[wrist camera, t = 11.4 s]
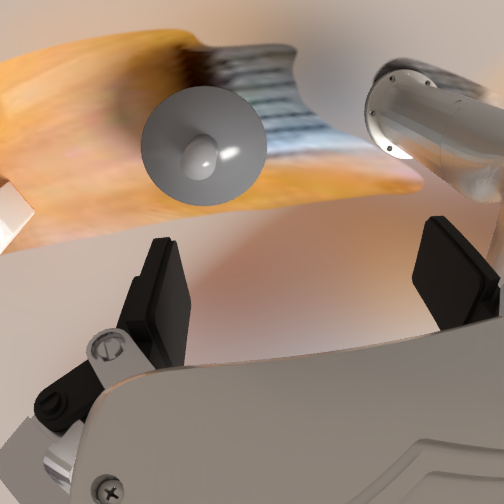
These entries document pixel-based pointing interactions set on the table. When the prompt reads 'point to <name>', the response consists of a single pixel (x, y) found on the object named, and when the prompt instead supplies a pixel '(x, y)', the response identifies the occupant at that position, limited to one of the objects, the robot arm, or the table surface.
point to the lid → (204, 146)
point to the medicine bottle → (12, 214)
